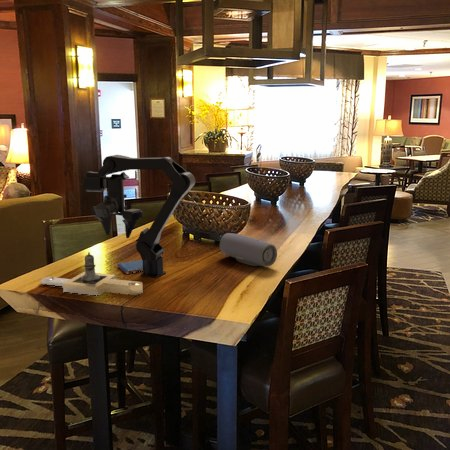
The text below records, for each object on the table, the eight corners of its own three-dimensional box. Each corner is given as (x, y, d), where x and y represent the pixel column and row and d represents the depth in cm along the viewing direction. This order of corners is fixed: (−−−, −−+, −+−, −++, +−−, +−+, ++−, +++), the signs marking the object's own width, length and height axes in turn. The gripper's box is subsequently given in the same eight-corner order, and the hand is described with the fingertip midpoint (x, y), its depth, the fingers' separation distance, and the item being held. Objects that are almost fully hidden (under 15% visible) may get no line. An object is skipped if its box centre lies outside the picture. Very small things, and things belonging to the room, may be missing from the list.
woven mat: (154, 271, 176) (154, 265, 175) (125, 276, 171) (125, 270, 170) (144, 263, 185) (143, 258, 184) (116, 268, 180) (116, 262, 179)
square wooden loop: (150, 287, 158) (149, 278, 158) (133, 300, 147) (132, 291, 146) (84, 280, 165) (83, 271, 164) (63, 292, 154) (62, 283, 153)
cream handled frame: (116, 283, 162) (116, 279, 161) (97, 296, 151) (97, 291, 150) (53, 277, 168) (52, 272, 168) (30, 288, 157) (30, 284, 157)
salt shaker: (90, 292, 154) (87, 255, 151) (77, 288, 157) (75, 252, 154) (104, 287, 159) (102, 251, 156) (91, 283, 162) (89, 248, 159)
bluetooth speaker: (278, 267, 179) (278, 240, 176) (260, 272, 173) (260, 245, 170) (236, 254, 195) (236, 229, 193) (218, 258, 189) (218, 233, 187)
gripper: (78, 193, 165) (81, 238, 168) (119, 198, 156) (122, 245, 159) (101, 189, 174) (104, 231, 178) (142, 193, 165) (144, 237, 169)
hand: (117, 236), depth 171 cm, fingers open, 9 cm apart
